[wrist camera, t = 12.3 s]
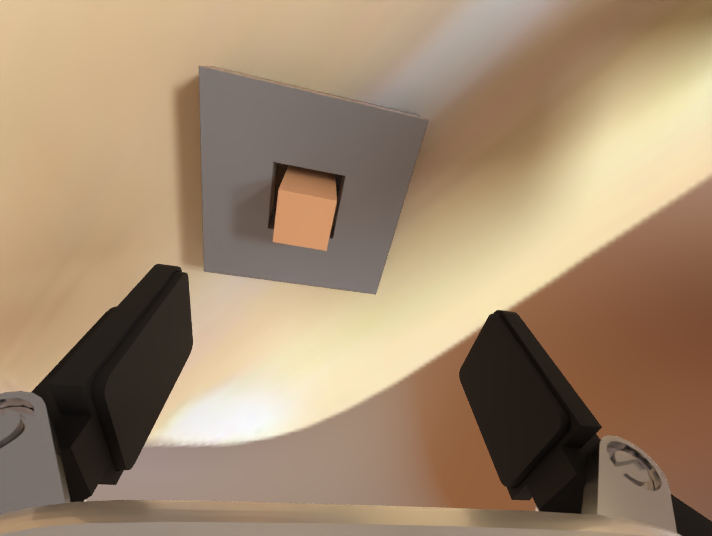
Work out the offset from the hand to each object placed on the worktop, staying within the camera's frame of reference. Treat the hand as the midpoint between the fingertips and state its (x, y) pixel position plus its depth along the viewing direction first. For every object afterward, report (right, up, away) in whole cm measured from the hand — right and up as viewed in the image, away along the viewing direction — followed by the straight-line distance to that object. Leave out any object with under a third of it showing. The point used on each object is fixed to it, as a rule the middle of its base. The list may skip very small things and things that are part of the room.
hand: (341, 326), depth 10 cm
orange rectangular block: (-4, +9, +19) cm, 21 cm away
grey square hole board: (-4, +9, +19) cm, 21 cm away
